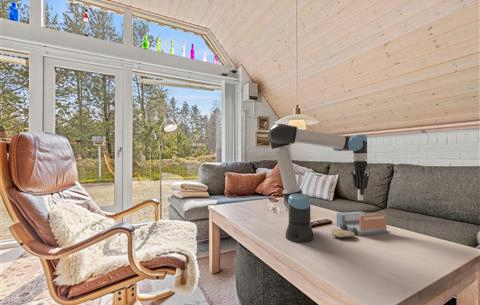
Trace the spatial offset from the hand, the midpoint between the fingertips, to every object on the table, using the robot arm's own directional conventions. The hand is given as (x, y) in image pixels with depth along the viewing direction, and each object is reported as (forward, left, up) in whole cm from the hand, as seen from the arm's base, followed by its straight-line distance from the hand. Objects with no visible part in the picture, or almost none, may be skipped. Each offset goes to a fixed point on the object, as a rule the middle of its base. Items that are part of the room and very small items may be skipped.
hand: (360, 199), depth 138 cm
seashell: (-14, -7, -18) cm, 24 cm away
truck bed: (0, -2, -18) cm, 18 cm away
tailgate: (0, -10, -14) cm, 17 cm away
